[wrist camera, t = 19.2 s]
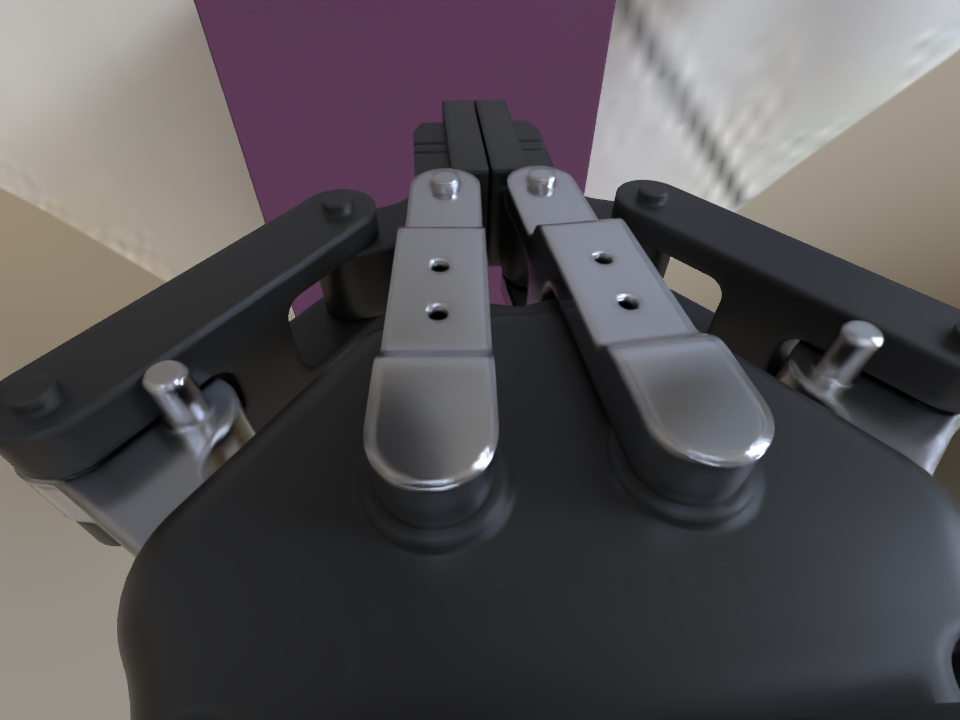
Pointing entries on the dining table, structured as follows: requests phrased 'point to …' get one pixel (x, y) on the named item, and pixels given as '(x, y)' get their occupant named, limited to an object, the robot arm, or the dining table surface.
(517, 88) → the lid
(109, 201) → the dining table surface
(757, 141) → the dining table surface
